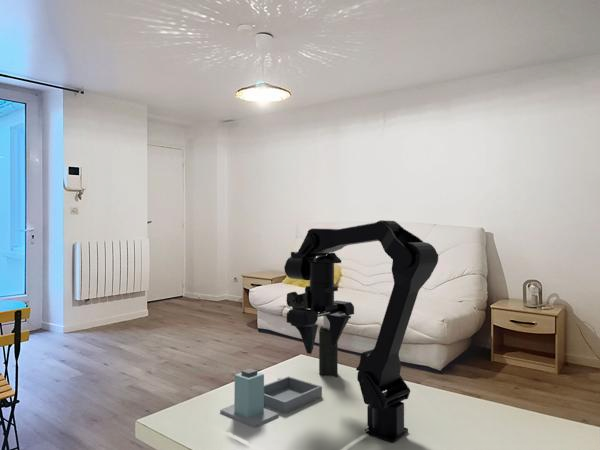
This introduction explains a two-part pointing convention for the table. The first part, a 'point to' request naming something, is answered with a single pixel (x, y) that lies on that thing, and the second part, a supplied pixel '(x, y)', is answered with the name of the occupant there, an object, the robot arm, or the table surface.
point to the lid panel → (250, 421)
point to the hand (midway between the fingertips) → (321, 349)
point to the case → (290, 394)
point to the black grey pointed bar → (327, 351)
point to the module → (249, 393)
